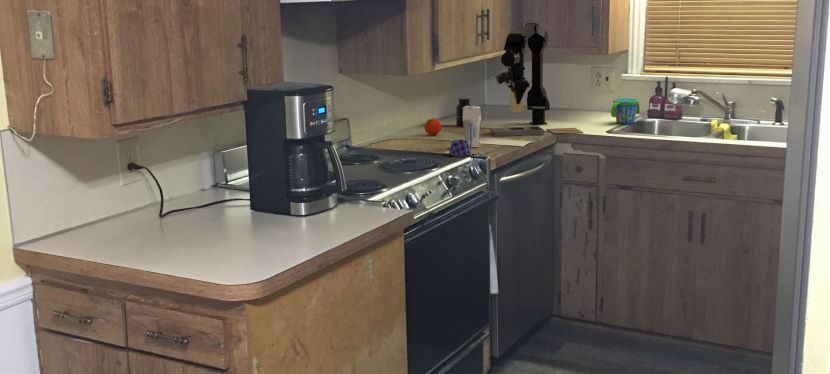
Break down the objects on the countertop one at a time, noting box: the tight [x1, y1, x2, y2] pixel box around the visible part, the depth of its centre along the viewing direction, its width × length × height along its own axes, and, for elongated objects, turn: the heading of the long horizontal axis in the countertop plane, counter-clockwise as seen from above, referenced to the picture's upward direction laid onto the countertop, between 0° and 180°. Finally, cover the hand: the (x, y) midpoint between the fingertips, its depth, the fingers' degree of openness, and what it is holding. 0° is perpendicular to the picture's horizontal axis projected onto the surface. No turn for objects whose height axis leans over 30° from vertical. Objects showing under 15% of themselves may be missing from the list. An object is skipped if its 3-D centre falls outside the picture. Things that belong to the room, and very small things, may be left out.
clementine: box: [424, 117, 442, 136], centre depth 370 cm, size 8×7×7 cm
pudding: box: [443, 139, 478, 155], centre depth 328 cm, size 12×12×5 cm
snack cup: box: [610, 97, 641, 125], centre depth 389 cm, size 16×10×10 cm
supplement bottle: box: [455, 97, 472, 127], centre depth 392 cm, size 7×7×12 cm
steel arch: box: [489, 125, 545, 138], centre depth 370 cm, size 10×20×2 cm, turn 97°
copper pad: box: [546, 127, 584, 136], centre depth 372 cm, size 12×12×1 cm
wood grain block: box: [509, 90, 525, 113], centre depth 367 cm, size 4×4×8 cm
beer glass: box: [462, 105, 482, 148], centre depth 342 cm, size 7×7×15 cm
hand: (516, 103), depth 367 cm, fingers closed on wood grain block, 4 cm apart
